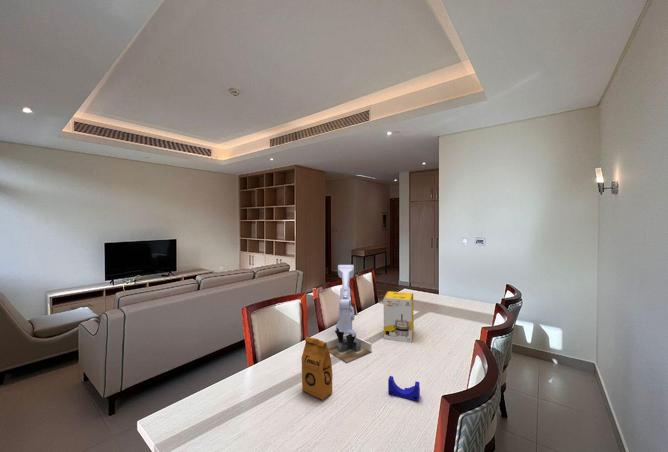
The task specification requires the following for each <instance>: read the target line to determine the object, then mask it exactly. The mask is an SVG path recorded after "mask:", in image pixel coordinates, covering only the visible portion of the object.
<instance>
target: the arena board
mask: <svg viewBox="0 0 668 452" xmlns="http://www.w3.org/2000/svg"><path fill="white" fill-rule="evenodd" d="M328 350H329V353H330V355H332V356H333V357H335V358H337V359H338V360H341V361H342V362H344V363H345V364H349V363H351V362H354V361H356V360H358V359H361V358H362V357H364V356H367V355H369V354H372V351H373V350H372V351H371V352H370V351H368V350H366V349H364V348H362V347H361V351H358V352H355V351H353V350H351V349H350V350H348V351H345V352H343V353H340V352H338V345H337V346H335V347H332V348H329V349H328Z"/></svg>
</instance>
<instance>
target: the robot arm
mask: <svg viewBox="0 0 668 452" xmlns="http://www.w3.org/2000/svg"><path fill="white" fill-rule="evenodd" d="M354 267H355V266H354V264H338V265H337V274H338V277H339V278H341V281H342V287H341V288H340V296H339V301H338V311H337V312H338V313H337V314H338V316H337V317H338V320H337V324H336V325H335V330H334V333H335V334H336V338H337V337H338V340H339V341H341V340H343V335H346V334H349V335H347V336H346V338H347V341H348V348H349V349H350V348H352V345H353V342H354V339H355V337H357V331H354V330H353V321H354V320H355V308H354V306H352V299H351V288H350V287H351V285H350V280H351V279H353V278H354V275H355V271H354V270H355V268H354Z"/></svg>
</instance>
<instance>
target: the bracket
mask: <svg viewBox="0 0 668 452" xmlns="http://www.w3.org/2000/svg"><path fill="white" fill-rule="evenodd" d="M350 349H351V350H353V351H355V352H358V351H361V341H359V340H357V339H354V342H353V345H352V348H350ZM350 349H349V348H348V341H347V339H344V340H341V341H339V342H338V352H340V353H343V352H345V351H348V350H350Z"/></svg>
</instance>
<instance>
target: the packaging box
mask: <svg viewBox="0 0 668 452" xmlns="http://www.w3.org/2000/svg"><path fill="white" fill-rule="evenodd" d="M414 325H415V324H414V292H413V293H412V292H404V291H403V292H402V291H391V290H390V291H388V290H387V292H386V294H385V295H384V297H383V339H384V340H388V341H389V340H390V341H396V342H403V343H404V342H405V343H413V336H414V331H415V329H414Z"/></svg>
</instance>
